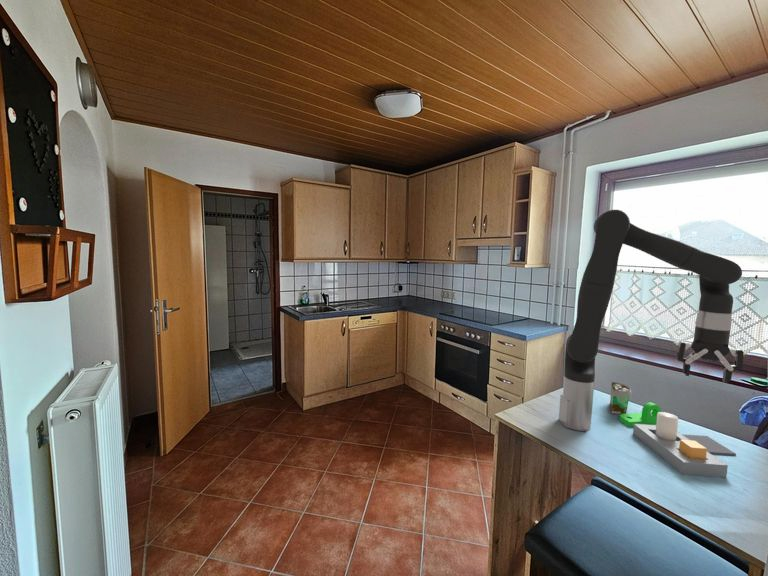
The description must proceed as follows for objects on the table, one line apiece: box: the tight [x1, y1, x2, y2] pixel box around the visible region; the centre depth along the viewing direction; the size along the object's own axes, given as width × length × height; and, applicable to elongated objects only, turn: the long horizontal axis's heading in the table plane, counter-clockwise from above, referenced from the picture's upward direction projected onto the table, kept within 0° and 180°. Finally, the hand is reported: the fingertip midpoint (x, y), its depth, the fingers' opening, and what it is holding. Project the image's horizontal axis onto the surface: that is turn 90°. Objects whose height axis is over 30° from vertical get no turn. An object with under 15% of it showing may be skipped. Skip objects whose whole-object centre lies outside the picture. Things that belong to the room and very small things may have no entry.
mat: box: [682, 434, 737, 456], centre depth 105 cm, size 10×10×1 cm
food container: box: [609, 380, 633, 416], centre depth 127 cm, size 12×6×10 cm, turn 148°
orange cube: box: [679, 440, 707, 460], centre depth 94 cm, size 4×4×4 cm
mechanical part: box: [619, 402, 662, 428], centre depth 119 cm, size 12×6×8 cm, turn 97°
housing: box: [632, 424, 729, 478], centre depth 100 cm, size 11×21×4 cm, turn 174°
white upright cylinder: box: [655, 411, 679, 441], centre depth 104 cm, size 5×5×10 cm
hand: (705, 378), depth 100 cm, fingers open, 8 cm apart
